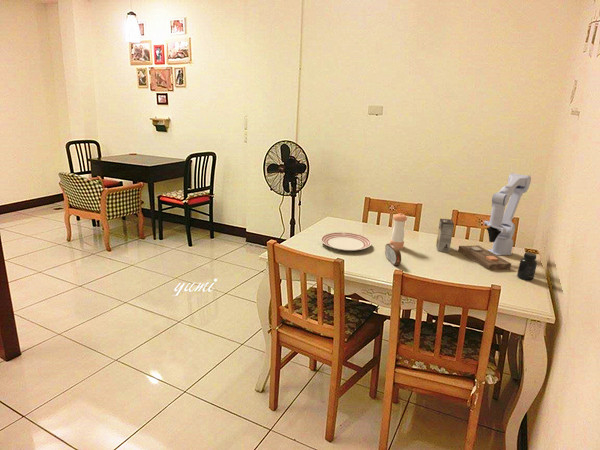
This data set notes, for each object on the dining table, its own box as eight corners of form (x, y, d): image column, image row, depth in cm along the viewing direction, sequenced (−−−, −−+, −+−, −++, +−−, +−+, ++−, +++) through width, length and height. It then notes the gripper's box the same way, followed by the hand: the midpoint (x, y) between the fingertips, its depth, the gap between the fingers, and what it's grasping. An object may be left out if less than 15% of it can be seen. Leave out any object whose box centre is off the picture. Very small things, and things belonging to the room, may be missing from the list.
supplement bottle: (513, 274, 187) (518, 251, 183) (527, 275, 188) (532, 251, 184) (522, 281, 180) (528, 256, 177) (536, 281, 181) (542, 256, 178)
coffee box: (435, 245, 223) (439, 218, 218) (447, 246, 221) (451, 219, 217) (437, 250, 214) (442, 222, 209) (449, 252, 213) (454, 223, 208)
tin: (400, 267, 189) (403, 251, 186) (394, 267, 188) (396, 251, 186) (389, 256, 203) (390, 240, 200) (383, 256, 202) (385, 240, 200)
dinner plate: (366, 257, 199) (367, 251, 198) (314, 249, 207) (314, 243, 206) (374, 241, 224) (375, 236, 223) (327, 234, 232) (328, 229, 231)
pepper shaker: (388, 247, 215) (392, 213, 210) (390, 243, 222) (395, 210, 216) (402, 249, 213) (406, 215, 207) (404, 245, 219) (408, 212, 214)
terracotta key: (492, 261, 200) (493, 255, 199) (497, 264, 196) (498, 258, 196) (485, 261, 199) (486, 256, 199) (490, 264, 196) (491, 259, 195)
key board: (477, 250, 218) (478, 245, 217) (510, 269, 193) (511, 263, 192) (458, 251, 215) (458, 245, 214) (488, 270, 191) (489, 264, 190)
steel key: (476, 252, 212) (477, 247, 212) (481, 255, 209) (482, 249, 208) (469, 252, 212) (470, 247, 211) (474, 255, 208) (475, 249, 207)
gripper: (480, 212, 205) (476, 237, 209) (499, 220, 192) (494, 246, 196) (492, 212, 207) (488, 237, 211) (512, 220, 193) (506, 246, 197)
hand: (491, 241), depth 203 cm, fingers closed
